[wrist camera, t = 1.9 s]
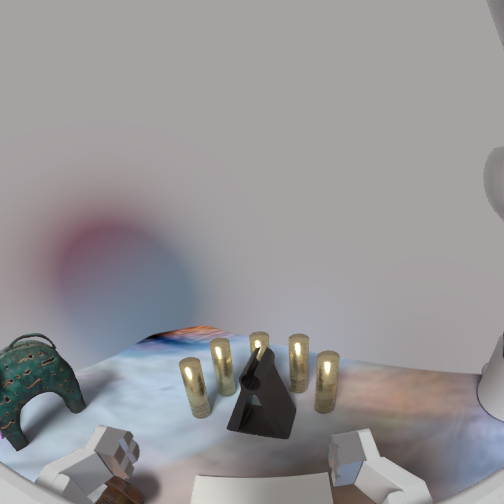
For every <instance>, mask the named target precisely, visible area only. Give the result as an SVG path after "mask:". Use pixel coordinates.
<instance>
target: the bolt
mask: <svg viewBox="0 0 504 504" xmlns="http://www.w3.org/2000/svg"><path fill="white" fill-rule="evenodd" d="M104 484H105V485H107V486H108V487H107V488H106V489H105V490H104V492H103V493H102V495H101V496H100V499H99V498H98V500H97V502H95V503H96V504H141V503H142V502H143V501H144V499H145V497H144V496H143V494H142V493H140V492H139V491H138V490H137V489H136V488H134V487H133V486H132V485H130V484H129V483H128V482H126V481H125V480H123V479H122V478H120V477H119V476H115V475H113V477H112V478H110V479H109V480H108V481H106V482H105V483H104ZM95 503H94V504H95Z"/></svg>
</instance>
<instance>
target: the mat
mask: <svg viewBox="0 0 504 504" xmlns="http://www.w3.org/2000/svg"><path fill="white" fill-rule="evenodd" d="M190 504H333V499H332V493H331V487H330V482H329V476H328V472H325V473H318V474H309V475H300V476H288V477H271V478H225V477H208V476H196V479H195V483H194V488H193V493H192V497H191V502H190Z"/></svg>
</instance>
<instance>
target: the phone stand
mask: <svg viewBox="0 0 504 504" xmlns="http://www.w3.org/2000/svg"><path fill="white" fill-rule="evenodd" d="M260 349H261V348H260V347H257V348H256V349H255V350H254V352H253V353H252V355H251V357H250V359H249V361H248V363H247V365H246V366H245V368H244V370H243V372H242V374H241V376H240V378H239V382H240V385H241V392H240V395H239V397H238V400H237V403H236V405H235V408H234V410H233V413H232V416H231V418H230V421H229V423H228V426H227V429H228V430H231V431H236V432H241V433H246V434H252V435H256V434H257V435H258V436H265V437H272V438H280V439H288V437H289V434H290V430H291V427H292V423H293V419H294V416H295V412H296V408H295V406H294V404H293V402H292V400H291V398H290V396H289V394H288V392H287V390H286V388H285V386H284V384H283V382H282V380H281V378H280V376H279V374H278V372H277V370H276V368H275V365H274V358H275V355H274V353H273V351H272V350H271V349H269V348H268V347H266V349H265V352H264V354H263V356H262V358H261V360H260V361H258V359H257V358H256V357H257V355H258V353H259V351H260ZM253 394H254V395H256V396H257V397H258V399H259V401H260V403H261V405H262V406H258V405H252V404H251V401H252V397H253Z"/></svg>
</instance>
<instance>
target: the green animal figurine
mask: <svg viewBox="0 0 504 504" xmlns="http://www.w3.org/2000/svg"><path fill="white" fill-rule="evenodd" d="M34 336H37V337H42V338H44V339H46V340H48V341H49V342H50V343H51V344H52V346H53V347H50V346H49V345H47V344H45V343H43V342H39V341H35V340H27V341H20V342H17V341H18V340H20V339H23V338H27V337H34ZM16 342H17V343H16ZM55 349H56V347H55V345H54V344H53V343H52V341H51V340H49V338H47V337H46V336H44V335H42V334H39V333H33V334H27V335H23V336H21V337H19V338H17V339H16V340H14V341H13V342H12V343H11V344H10V345H9V346H8V347H6V348H4V349H3V350H1V351H0V431H1V433H2V434H3V435H4V436H5V437H6V438H7V440H8V441H9V442H10V443H11V445H12V446H13V447H14V448H15V449H16V451H19V450H20V449H22V448H24V447H26V446H27V444H28V442H27V439H26V437H25V436H24V435H23V432H22V430H21V427H20V412H21V409H22V407H23V406H24V405H25V404H26V403H27V402H28V401H30V400H31V399H32V398H34V397H35V396H37V395H39V394H42V393H45V392H54V393H56V394H58V395H59V396H60V397H62V398H63V400H64V402H65V404H66V406H67V407H68V408H69V409H70V410H71V411H72V412H73V413H79V412H81V411H82V410H83V409H84V408H85V407H86V405H85V402H84V400H83V397H82V394H81V390H80V387H79V383H78V381H77V379H76V377H75V374H74V372H73V370H72V368H71V366H70V365H69V364H68V363H67V362H66V361H65V360H64V359H63V358H62V357H61V356H60V355H59V354H58V352H57V351H56V350H55Z"/></svg>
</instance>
